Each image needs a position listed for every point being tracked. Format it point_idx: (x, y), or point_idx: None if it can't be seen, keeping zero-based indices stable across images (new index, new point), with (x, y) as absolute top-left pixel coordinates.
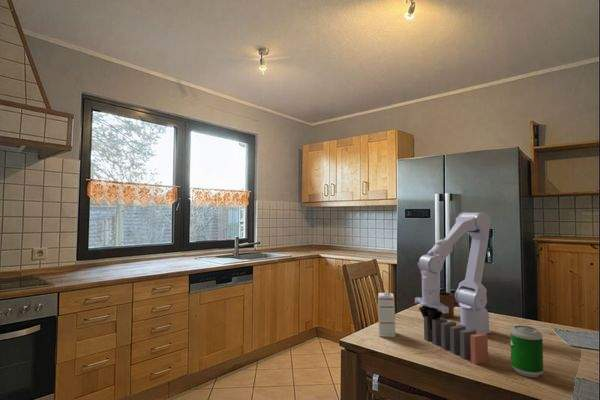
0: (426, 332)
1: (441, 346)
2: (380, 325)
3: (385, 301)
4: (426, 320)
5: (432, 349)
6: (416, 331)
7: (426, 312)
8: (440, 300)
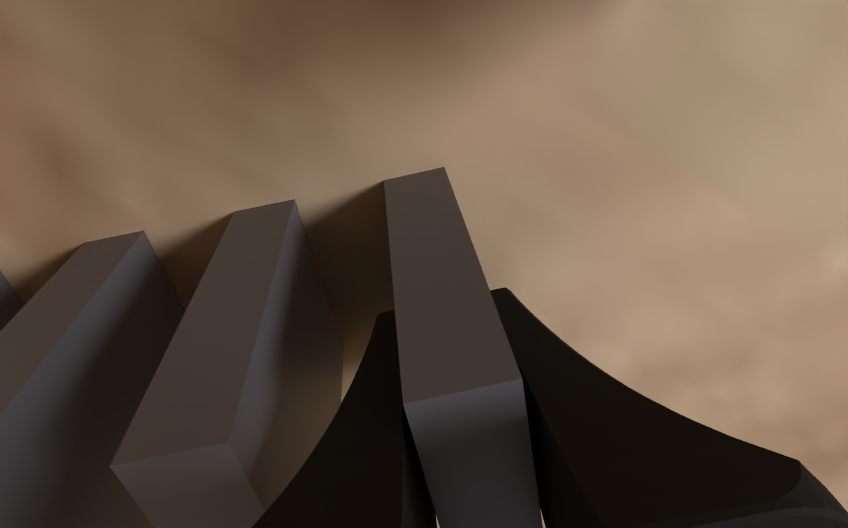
0: (409, 224)
1: (129, 239)
2: None
3: None
4: (423, 349)
5: (74, 92)
6: (722, 208)
7: (573, 518)
8: None
